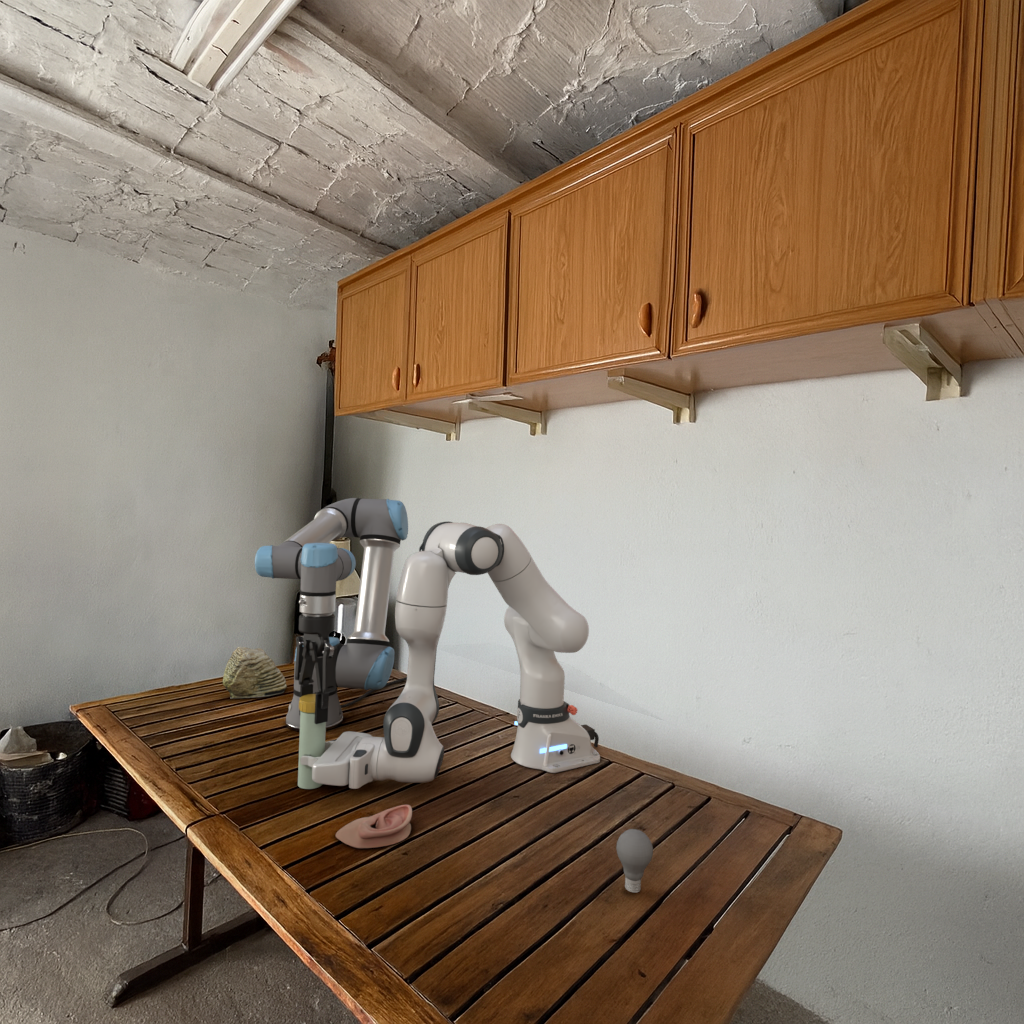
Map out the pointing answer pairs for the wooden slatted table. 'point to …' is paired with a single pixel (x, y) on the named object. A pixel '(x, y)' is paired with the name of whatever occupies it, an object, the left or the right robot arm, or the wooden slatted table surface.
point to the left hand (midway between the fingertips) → (313, 717)
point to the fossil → (252, 674)
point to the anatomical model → (378, 828)
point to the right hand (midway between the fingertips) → (307, 753)
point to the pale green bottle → (310, 747)
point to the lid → (307, 703)
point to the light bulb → (634, 857)
